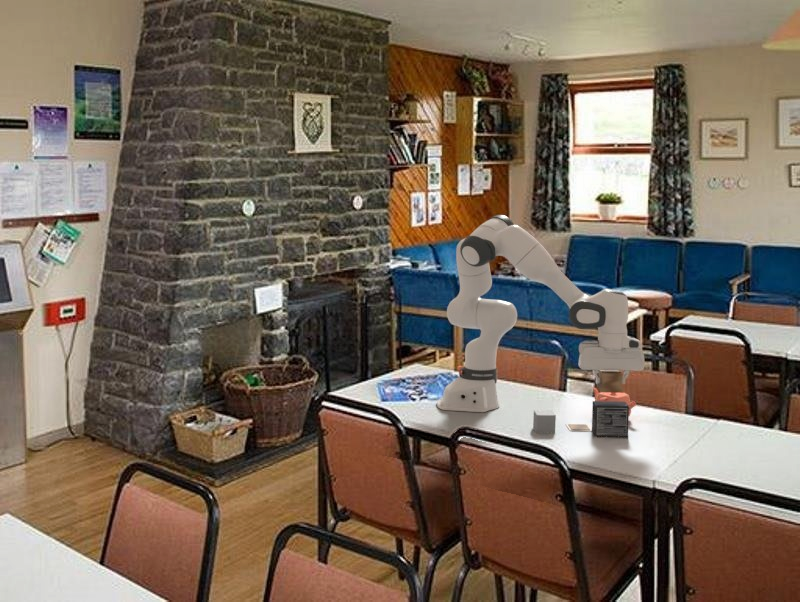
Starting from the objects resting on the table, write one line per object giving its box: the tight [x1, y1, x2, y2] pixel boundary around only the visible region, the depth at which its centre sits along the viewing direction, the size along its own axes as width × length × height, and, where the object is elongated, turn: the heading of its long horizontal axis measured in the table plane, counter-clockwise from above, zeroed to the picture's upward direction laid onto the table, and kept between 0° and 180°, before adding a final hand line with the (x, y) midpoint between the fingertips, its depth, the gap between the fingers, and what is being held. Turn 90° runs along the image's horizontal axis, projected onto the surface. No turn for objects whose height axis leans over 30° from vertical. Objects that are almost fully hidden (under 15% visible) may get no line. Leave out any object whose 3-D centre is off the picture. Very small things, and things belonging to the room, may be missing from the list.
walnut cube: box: [597, 370, 624, 393], centre depth 254 cm, size 6×6×6 cm
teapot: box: [591, 386, 637, 417], centre depth 275 cm, size 14×12×10 cm
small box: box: [591, 400, 630, 439], centre depth 256 cm, size 11×6×10 cm, turn 87°
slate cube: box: [532, 409, 557, 434], centre depth 260 cm, size 6×6×6 cm
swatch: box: [565, 423, 592, 432], centre depth 264 cm, size 7×7×1 cm
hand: (610, 383), depth 254 cm, fingers closed on walnut cube, 6 cm apart
